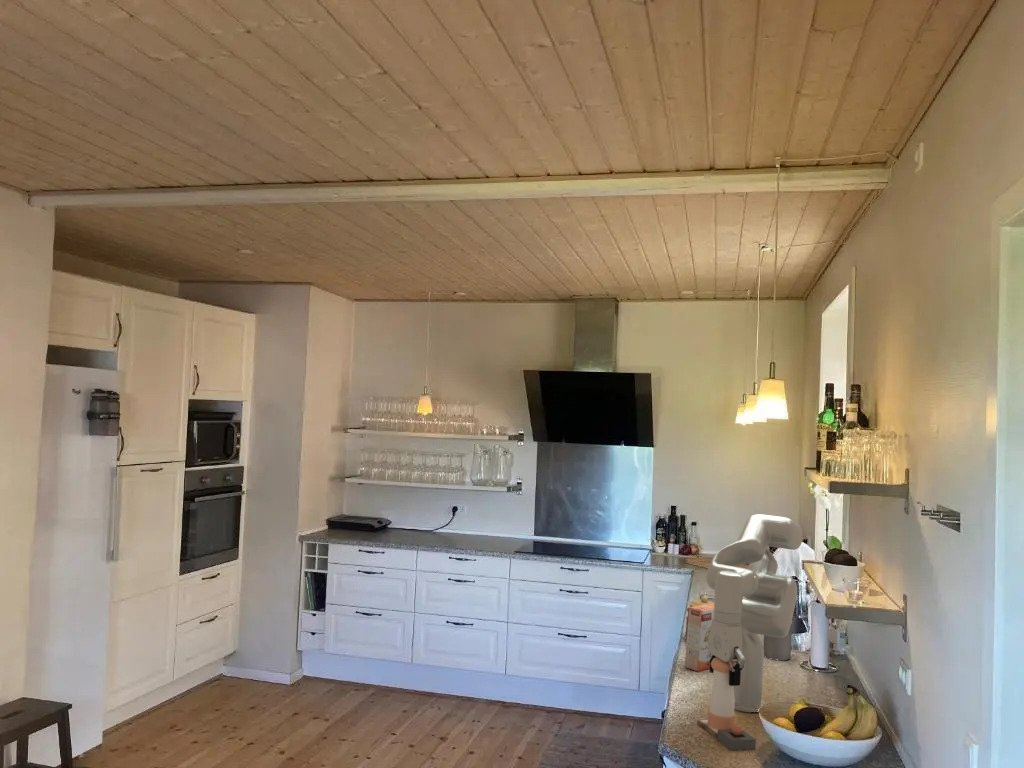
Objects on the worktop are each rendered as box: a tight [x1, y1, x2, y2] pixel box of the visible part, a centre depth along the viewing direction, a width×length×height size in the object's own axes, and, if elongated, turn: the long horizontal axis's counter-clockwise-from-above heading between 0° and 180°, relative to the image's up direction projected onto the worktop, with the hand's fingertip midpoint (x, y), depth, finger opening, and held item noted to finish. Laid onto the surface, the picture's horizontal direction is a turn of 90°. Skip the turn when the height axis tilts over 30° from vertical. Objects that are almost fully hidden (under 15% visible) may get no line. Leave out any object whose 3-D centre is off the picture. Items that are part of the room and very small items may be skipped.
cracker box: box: [684, 603, 714, 672], centre depth 268 cm, size 14×6×21 cm, turn 131°
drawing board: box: [696, 718, 718, 739], centre depth 212 cm, size 10×9×1 cm
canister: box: [684, 595, 714, 642], centre depth 299 cm, size 13×13×18 cm
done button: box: [732, 723, 743, 735], centre depth 204 cm, size 3×3×2 cm
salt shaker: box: [707, 657, 736, 730], centre depth 213 cm, size 7×7×19 cm
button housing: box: [716, 729, 757, 751], centre depth 203 cm, size 7×7×2 cm
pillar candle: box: [763, 621, 793, 661], centre depth 286 cm, size 10×10×15 cm
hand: (724, 678), depth 213 cm, fingers open, 9 cm apart
